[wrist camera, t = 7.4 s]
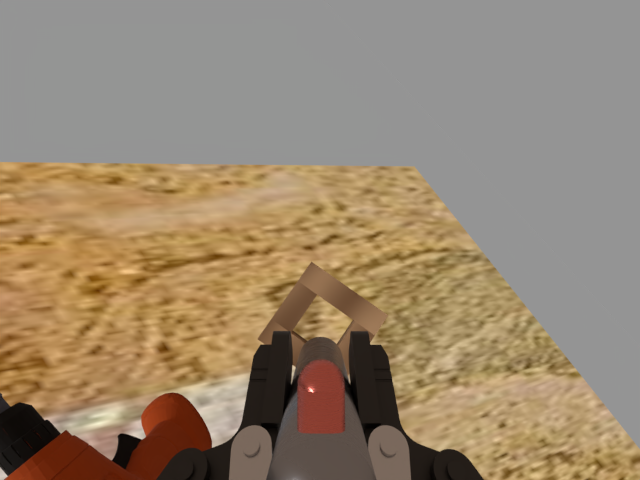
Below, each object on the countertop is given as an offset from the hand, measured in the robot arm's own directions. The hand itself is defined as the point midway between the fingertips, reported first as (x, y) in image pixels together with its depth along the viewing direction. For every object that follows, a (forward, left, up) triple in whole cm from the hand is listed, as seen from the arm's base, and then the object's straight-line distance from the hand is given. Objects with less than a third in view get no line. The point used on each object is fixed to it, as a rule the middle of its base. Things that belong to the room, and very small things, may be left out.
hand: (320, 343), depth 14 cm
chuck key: (+1, -2, -6) cm, 6 cm away
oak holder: (+1, -2, -19) cm, 19 cm away
